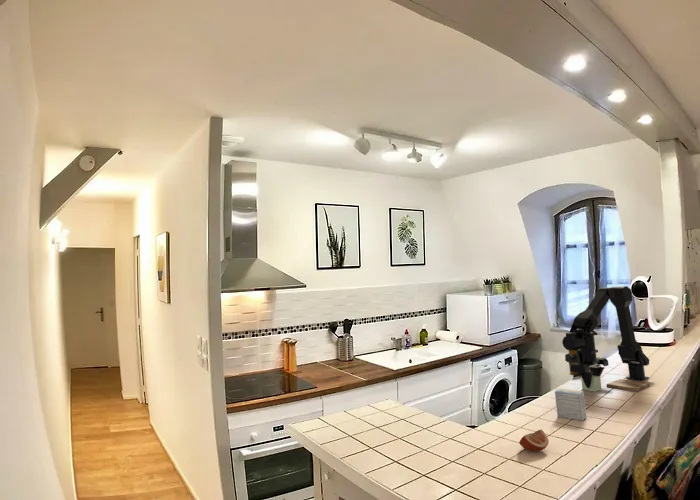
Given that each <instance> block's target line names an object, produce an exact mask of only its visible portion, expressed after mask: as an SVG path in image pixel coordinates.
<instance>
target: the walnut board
mask: <svg viewBox="0 0 700 500" xmlns="http://www.w3.org/2000/svg"><path fill="white" fill-rule="evenodd" d="M606 387H607V388H610V389H611V388H612V389H616V390H624V391H630V392H631V391H632V392H638V391H641V390H643V389H646V388H648V387H650V383H649V382H646V381H645V382H644V381H639V380H632V379H622V378H619V379H616V380H614V381H611V382H608V383H606Z"/></svg>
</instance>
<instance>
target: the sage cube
mask: <svg viewBox="0 0 700 500" xmlns="http://www.w3.org/2000/svg"><path fill="white" fill-rule="evenodd" d="M580 379H581V380H580V381H581V389H582V391H583V390H584V391H590V392H597V391H600V390H602V382H601V381H602V380H601V376H594V375H592V379H591V385H590V388H587V387H586V385H585V383H584V381H583V379H582V377H581V376H580Z"/></svg>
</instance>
